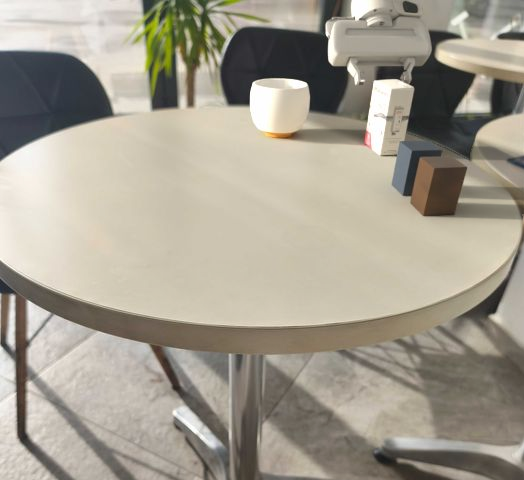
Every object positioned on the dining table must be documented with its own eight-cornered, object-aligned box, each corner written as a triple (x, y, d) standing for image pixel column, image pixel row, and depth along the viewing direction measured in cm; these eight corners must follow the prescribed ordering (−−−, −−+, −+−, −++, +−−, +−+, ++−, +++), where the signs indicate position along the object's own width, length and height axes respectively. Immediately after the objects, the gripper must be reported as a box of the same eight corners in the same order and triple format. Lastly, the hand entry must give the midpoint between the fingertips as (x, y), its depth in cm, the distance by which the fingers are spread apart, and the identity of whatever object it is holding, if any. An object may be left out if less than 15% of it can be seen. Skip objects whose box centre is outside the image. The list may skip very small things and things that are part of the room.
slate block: (419, 183, 84) (429, 140, 79) (431, 194, 80) (442, 149, 76) (391, 184, 83) (399, 141, 79) (402, 195, 79) (411, 150, 75)
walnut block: (439, 201, 78) (451, 155, 73) (454, 214, 74) (467, 167, 69) (409, 202, 77) (419, 156, 73) (423, 215, 73) (434, 168, 69)
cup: (256, 143, 100) (257, 90, 94) (244, 127, 109) (244, 78, 103) (314, 141, 102) (319, 89, 96) (297, 125, 111) (300, 77, 105)
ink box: (363, 143, 102) (372, 78, 94) (385, 142, 103) (396, 78, 95) (379, 156, 95) (390, 87, 88) (402, 155, 96) (416, 87, 89)
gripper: (328, 4, 93) (336, 72, 92) (430, 5, 96) (439, 72, 94) (320, 29, 99) (327, 93, 98) (416, 30, 102) (424, 92, 101)
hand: (383, 83), depth 96 cm, fingers open, 8 cm apart
